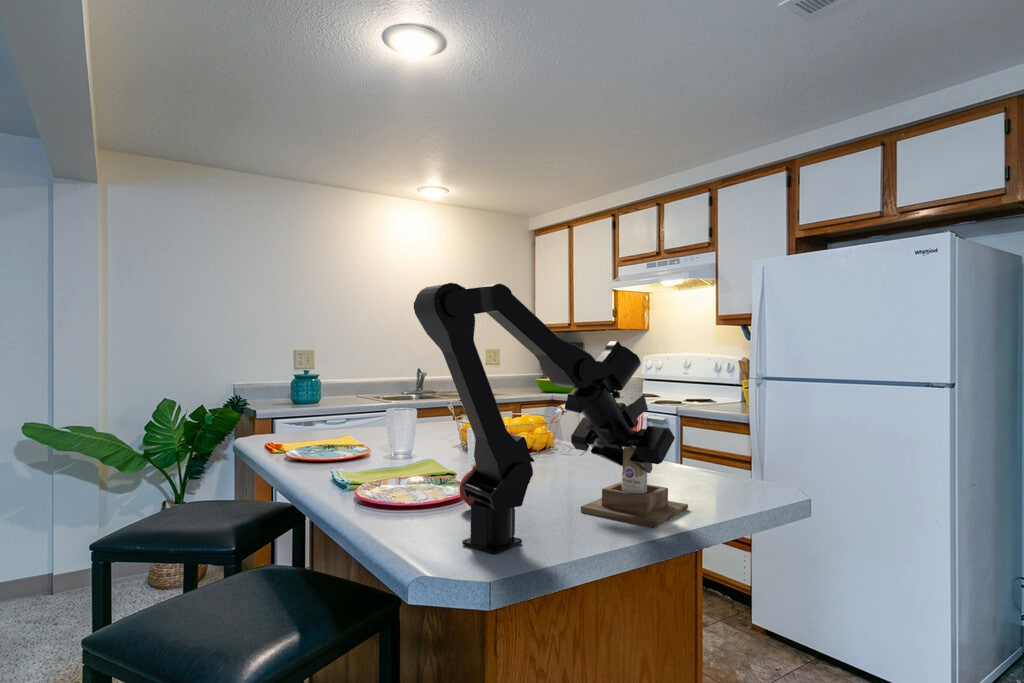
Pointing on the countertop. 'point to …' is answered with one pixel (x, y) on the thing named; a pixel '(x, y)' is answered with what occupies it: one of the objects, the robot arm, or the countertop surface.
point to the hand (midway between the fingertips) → (639, 468)
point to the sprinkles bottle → (633, 475)
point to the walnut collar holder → (635, 506)
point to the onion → (467, 500)
